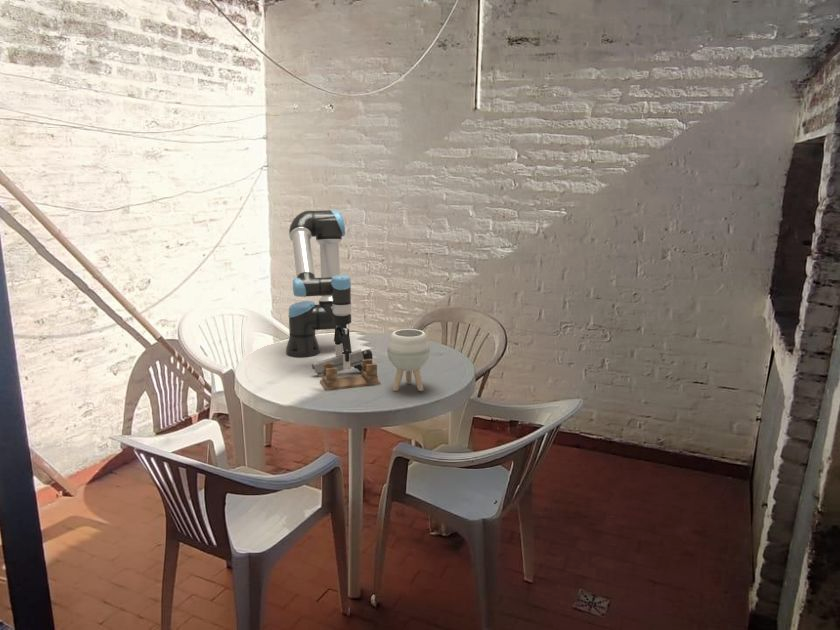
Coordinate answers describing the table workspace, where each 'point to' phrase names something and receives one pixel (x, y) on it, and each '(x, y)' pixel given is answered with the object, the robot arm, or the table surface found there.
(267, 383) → the table surface
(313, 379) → the table surface
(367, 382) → the display stand
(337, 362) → the gun
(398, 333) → the planter
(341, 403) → the table surface
